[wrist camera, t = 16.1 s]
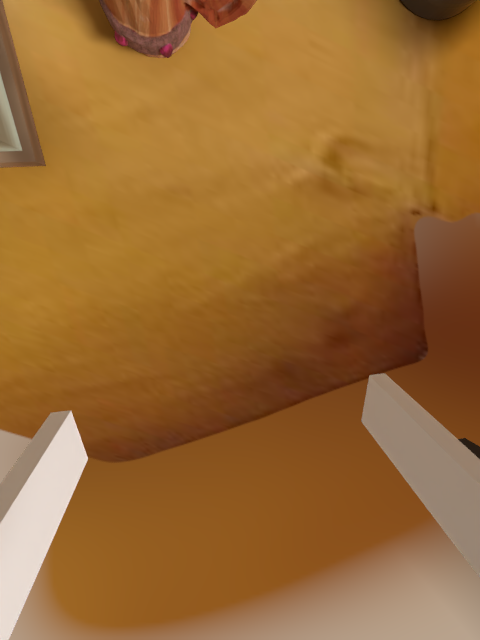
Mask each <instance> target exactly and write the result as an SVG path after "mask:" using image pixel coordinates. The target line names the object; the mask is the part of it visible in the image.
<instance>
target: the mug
mask: <svg viewBox="0 0 480 640" xmlns="http://www.w3.org/2000/svg"><path fill="white" fill-rule="evenodd" d="M99 1H100V4H101V7H102V9H103V11H104V13H105V15H106V17H107V19H108V21H109V23H110V24H111V26H112V28H113V29H114V31H115V39H116V41H117V42H118V43H119V44H120V45H122V46H129V47H131V48H132V49H134V50H136V51H138V52H140V53H143V54H145V55H147V56H149V57H157V58H166V57H167V58H169V57H170V56H171V55H172V54H173V53H175V52H176V51H177V50H178V49H179V48H180V47H182V46H183V45H184V43H185V42H186V41H187V40H188V38H189V35H190V31H191V23H192V20H194V19H195V18H196V16H197V14H198V12H199V13H200V14H201V15H202V16H203V17H204V18H205V19H206V20H207V21H208V22H209V23H210V24H211V25H212V26H214V27H215V28H217V27H220V26H222V25H225V24H227V23H229V22H232V21H234V20H236V19H237V18H239V17H240V16H242V15H245V14H246V13H247V12H248V11H249V10H250V9H251V8H252V6H253V5H254V3H255V2H256V1H257V0H99Z"/></svg>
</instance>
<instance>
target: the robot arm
mask: <svg viewBox="0 0 480 640" xmlns="http://www.w3.org/2000/svg"><path fill="white" fill-rule="evenodd" d="M401 1H402V3H403V4H404V5H405V6H406V7H407V8H408V9H409V10H410V11H412V12H413V13H415V14H416V15H418V16H420V17H423V18H426V19H430V20H442V19H447V18H450V17H453V16H455V15H457V14H459V13H461V12H462V11H464V10H465V9H466V8H468V7H469V6H470V5H471V4H473V3H474V2H475V1H476V0H401ZM361 421H362V423H363V424H364V425H365V427H366V428H367V429H368V431H369V432H370V433H371V435H372V436H373V437H374V439H375V440H376V441H377V443H378V444H379V445H380V447H381V448H382V449H383V450H384V452H385V453H386V455H387V456H388V457H389V458H390V460H391V461H392V462H393V464H394V465H395V466H396V468H397V469H398V470H399V472H400V473H401V474H402V476H403V477H404V478H405V480H406V481H407V482H408V484H409V485H410V486H411V488H412V489H413V490H414V492H415V493H416V494H417V495H418V497H419V498H420V500H421V501H422V502H423V504H424V505H425V506H426V508H427V509H428V510H429V511H430V513H431V514H432V516H433V517H434V518H435V520H436V521H437V522H438V524H439V525H440V526H441V527H442V529H443V530H444V531H445V533H446V534H447V535H448V537H449V538H450V539H451V541H452V542H453V543H454V545H455V546H456V547H457V549H458V550H459V551H460V553H461V554H462V555H463V557H464V558H465V559H466V561H467V562H468V563H469V565H470V566H471V567H472V568H473V570H474V571H475V573H476V574H477V575H478V577H479V578H480V447H479V446H478V445H476V444H474V443H472V442H471V441H469V440H467V439H466V438H463V439H457V438H456V437H454V436H453V435H452V434H451V433H450V432H449V431H448V430H446V428H444V427H443V426H442V425H441V424H440V423H439V422H438V421H437V420H436V419H434V418H433V417H432V416H431V415H430V414H429V413H428V412H427V411H426V410H425V409H423V408H422V407H421V406H420V405H419V404H418V403H417V402H416V401H415V400H413V399H412V398H411V397H410V396H409V395H408V394H407V393H406V392H405V391H404V390H402V389H401V388H400V387H399V386H398V385H397V384H396V383H395V382H394V381H392V380H391V379H390V378H389V377H388V376H387V375H386V374H376V375H369V381H368V386H367V392H366V398H365V403H364V410H363V415H362V420H361ZM87 460H88V457H87V455H86V452H85V449H84V446H83V443H82V440H81V438H80V435H79V432H78V429H77V426H76V423H75V421H74V418H73V415H72V412H71V411H63V412H54V413H51V414H50V415H49V416H48V418H47V419H46V421H45V422H44V423H43V425H42V426H41V428H40V429H39V430H38V432H37V433H36V435H35V436H34V437H33V439H32V440H31V442H30V443H29V444H28V446H27V447H26V449H25V450H24V452H23V453H22V454H21V456H20V457H19V458H18V460H17V461H16V463H15V464H14V465H13V467H12V468H11V470H10V471H9V472H8V474H7V475H6V477H5V478H4V479H3V481H2V482H1V484H0V640H9V637H10V635H11V633H12V631H13V629H14V626H15V624H16V622H17V619H18V617H19V615H20V613H21V610H22V608H23V606H24V603H25V601H26V599H27V597H28V594H29V592H30V589H31V588H32V585H33V583H34V580H35V578H36V576H37V574H38V572H39V569H40V567H41V565H42V562H43V560H44V558H45V556H46V553H47V551H48V549H49V546H50V544H51V542H52V540H53V537H54V535H55V533H56V530H57V528H58V526H59V524H60V521H61V519H62V517H63V514H64V512H65V510H66V507H67V506H68V503H69V501H70V499H71V496H72V494H73V492H74V489H75V487H76V485H77V483H78V480H79V478H80V476H81V473H82V471H83V469H84V467H85V464H86V462H87Z"/></svg>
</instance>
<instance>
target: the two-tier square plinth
mask: <svg viewBox="0 0 480 640" xmlns="http://www.w3.org/2000/svg"><path fill="white" fill-rule="evenodd" d="M26 166H46V165H45V162H44V158H43V154H42V150H41V146H40V143H39V139H38V135H37V131H36V127H35V124H34V120H33V116H32V112H31V108H30V105H29V101H28V97H27V93H26V89H25V86H24V82H23V78H22V74H21V70H20V67H19V63H18V59H17V55H16V52H15V48H14V44H13V40H12V36H11V33H10V29H9V25H8V21H7V17H6V14H5V10H4V6H3V2H2V0H0V167H26Z"/></svg>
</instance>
